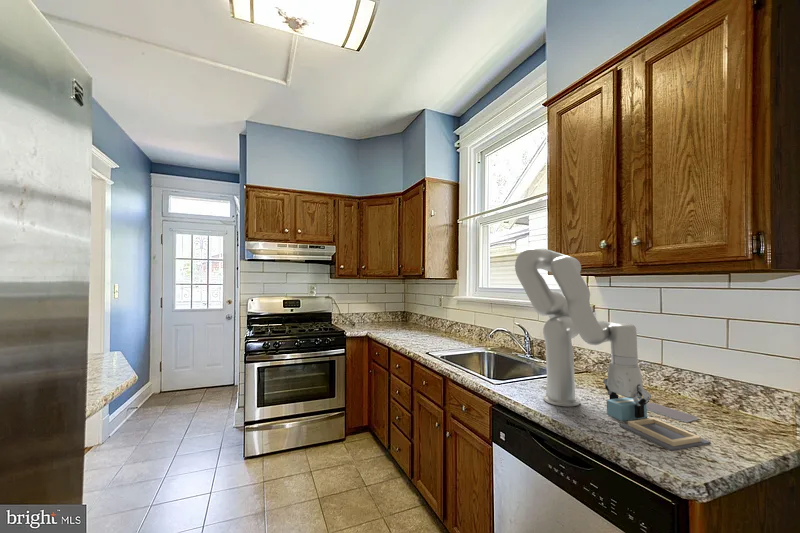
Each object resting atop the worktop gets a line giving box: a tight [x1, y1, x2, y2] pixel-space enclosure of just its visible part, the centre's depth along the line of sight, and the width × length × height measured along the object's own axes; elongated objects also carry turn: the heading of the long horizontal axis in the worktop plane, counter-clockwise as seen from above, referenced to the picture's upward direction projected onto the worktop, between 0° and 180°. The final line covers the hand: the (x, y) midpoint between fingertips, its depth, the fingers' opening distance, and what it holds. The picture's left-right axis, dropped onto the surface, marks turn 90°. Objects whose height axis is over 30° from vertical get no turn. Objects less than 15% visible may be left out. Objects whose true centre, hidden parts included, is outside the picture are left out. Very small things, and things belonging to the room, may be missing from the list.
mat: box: [619, 417, 712, 452], centre depth 102 cm, size 16×14×2 cm
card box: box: [605, 397, 648, 422], centre depth 116 cm, size 10×6×5 cm, turn 103°
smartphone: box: [646, 402, 699, 424], centre depth 118 cm, size 7×1×15 cm
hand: (626, 411), depth 116 cm, fingers open, 9 cm apart
